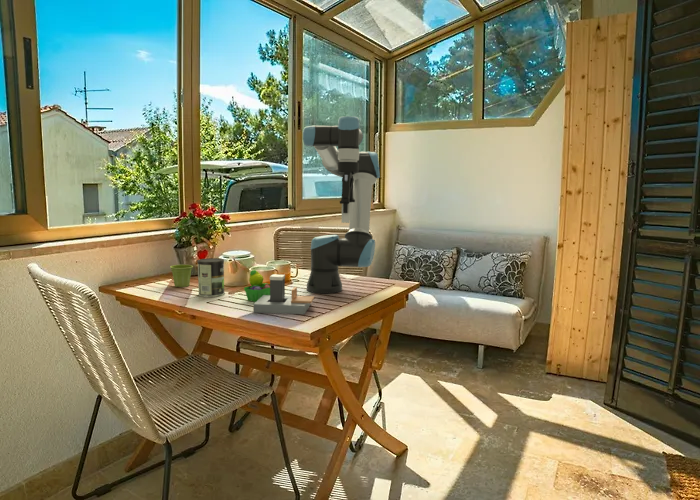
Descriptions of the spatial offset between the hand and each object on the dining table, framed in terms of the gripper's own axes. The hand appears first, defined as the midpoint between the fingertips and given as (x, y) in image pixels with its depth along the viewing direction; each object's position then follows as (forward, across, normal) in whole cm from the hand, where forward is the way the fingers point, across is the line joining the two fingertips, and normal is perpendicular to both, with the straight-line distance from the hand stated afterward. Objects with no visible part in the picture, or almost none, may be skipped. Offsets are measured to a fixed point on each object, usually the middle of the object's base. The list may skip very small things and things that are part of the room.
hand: (347, 221), depth 180 cm
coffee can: (+32, -12, -56) cm, 65 cm away
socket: (+32, +5, -22) cm, 39 cm away
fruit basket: (+32, -8, -35) cm, 48 cm away
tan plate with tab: (+29, +5, -15) cm, 33 cm away
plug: (+32, +5, -24) cm, 40 cm away
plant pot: (+32, -26, -74) cm, 85 cm away
